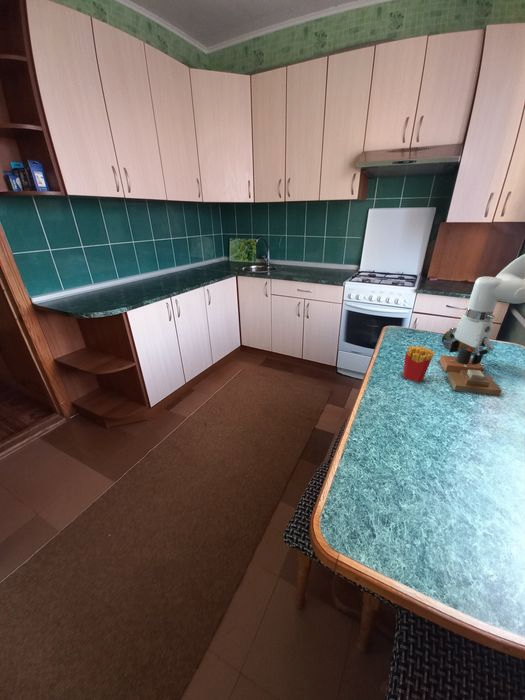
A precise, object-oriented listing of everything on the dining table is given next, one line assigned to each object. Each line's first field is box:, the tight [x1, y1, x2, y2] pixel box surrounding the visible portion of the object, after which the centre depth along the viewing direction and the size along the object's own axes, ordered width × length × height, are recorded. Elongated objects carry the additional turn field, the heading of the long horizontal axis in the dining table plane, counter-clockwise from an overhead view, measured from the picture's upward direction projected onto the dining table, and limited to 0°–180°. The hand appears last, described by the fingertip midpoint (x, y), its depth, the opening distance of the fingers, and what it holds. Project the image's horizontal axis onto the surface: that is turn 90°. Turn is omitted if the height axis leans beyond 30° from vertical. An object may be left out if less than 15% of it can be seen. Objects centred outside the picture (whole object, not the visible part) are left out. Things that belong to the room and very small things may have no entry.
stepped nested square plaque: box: [446, 370, 502, 397], centre depth 98 cm, size 13×9×4 cm
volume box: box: [439, 354, 486, 374], centre depth 109 cm, size 12×8×3 cm
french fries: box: [402, 345, 435, 383], centre depth 102 cm, size 8×4×12 cm, turn 54°
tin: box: [441, 330, 481, 355], centre depth 121 cm, size 15×3×8 cm, turn 55°
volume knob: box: [456, 347, 473, 364], centre depth 107 cm, size 4×4×6 cm
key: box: [467, 370, 485, 380], centre depth 97 cm, size 4×4×2 cm
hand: (463, 357), depth 107 cm, fingers open, 9 cm apart
